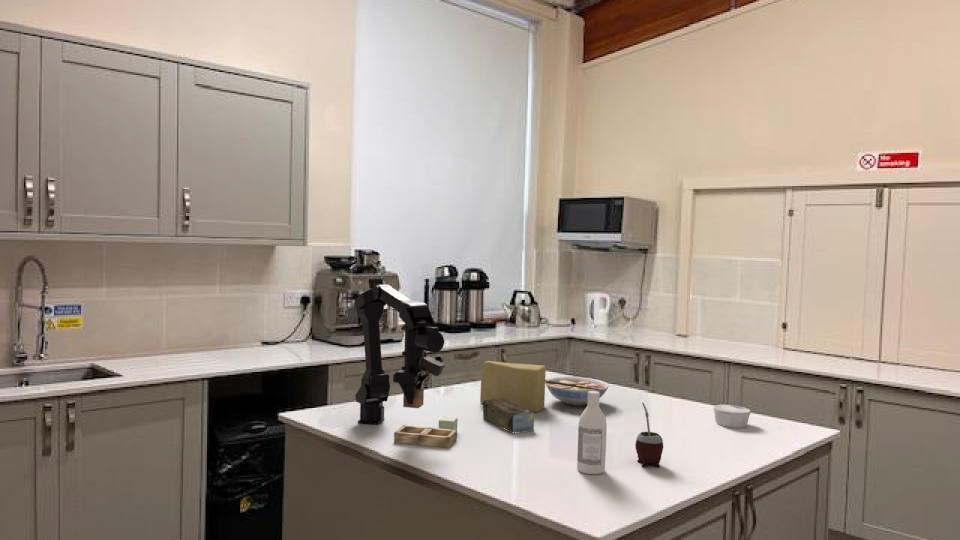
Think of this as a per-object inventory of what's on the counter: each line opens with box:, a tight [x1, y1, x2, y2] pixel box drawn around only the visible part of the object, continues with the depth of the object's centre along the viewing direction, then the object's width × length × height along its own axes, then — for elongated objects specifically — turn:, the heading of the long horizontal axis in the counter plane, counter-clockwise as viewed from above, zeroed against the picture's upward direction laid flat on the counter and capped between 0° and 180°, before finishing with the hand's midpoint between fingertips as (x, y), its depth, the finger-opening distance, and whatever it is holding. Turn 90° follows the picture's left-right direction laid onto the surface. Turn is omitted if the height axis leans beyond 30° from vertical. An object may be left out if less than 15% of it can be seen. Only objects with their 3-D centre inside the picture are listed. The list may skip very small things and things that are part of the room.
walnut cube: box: [402, 388, 425, 409], centre depth 196 cm, size 4×4×4 cm
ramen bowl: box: [545, 376, 610, 407], centre depth 246 cm, size 25×23×8 cm
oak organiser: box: [393, 424, 458, 448], centre depth 196 cm, size 16×8×3 cm, turn 77°
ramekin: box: [712, 404, 751, 429], centre depth 224 cm, size 11×11×5 cm
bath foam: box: [576, 391, 607, 476], centre depth 174 cm, size 7×7×20 cm
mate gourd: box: [634, 402, 664, 469], centre depth 181 cm, size 8×8×15 cm
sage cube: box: [438, 416, 459, 431], centre depth 204 cm, size 4×4×4 cm
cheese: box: [479, 360, 547, 413], centre depth 239 cm, size 22×10×15 cm, turn 69°
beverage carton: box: [482, 398, 535, 434], centre depth 216 cm, size 8×19×7 cm, turn 28°
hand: (413, 402), depth 196 cm, fingers closed on walnut cube, 4 cm apart
